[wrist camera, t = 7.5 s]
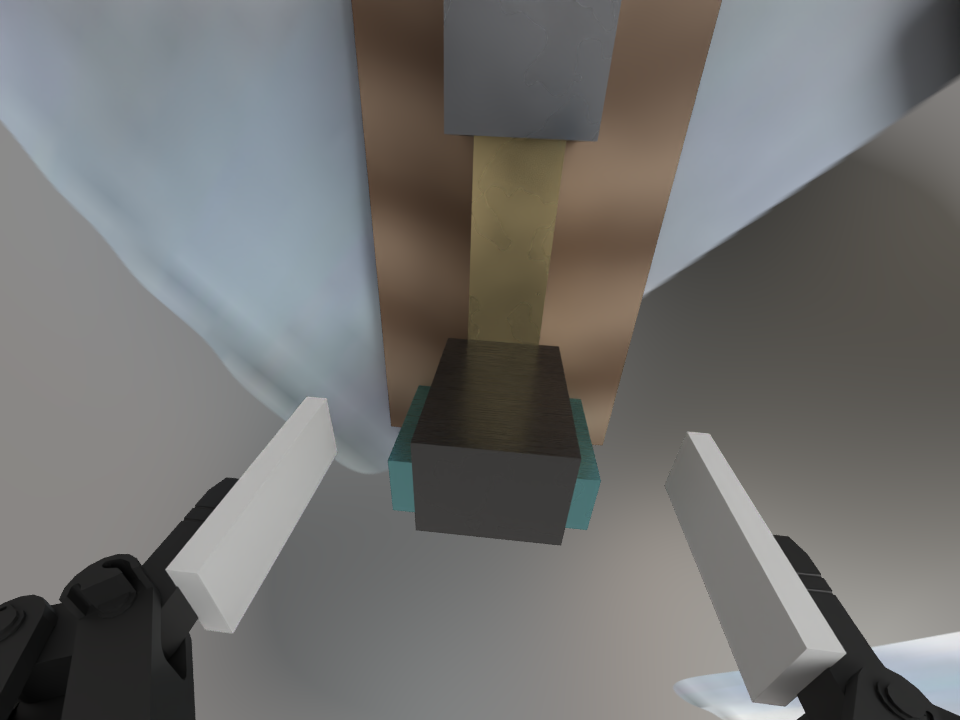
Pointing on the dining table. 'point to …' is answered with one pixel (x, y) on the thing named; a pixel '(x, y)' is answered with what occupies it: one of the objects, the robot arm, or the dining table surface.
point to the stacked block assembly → (522, 133)
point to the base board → (581, 205)
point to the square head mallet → (502, 368)
